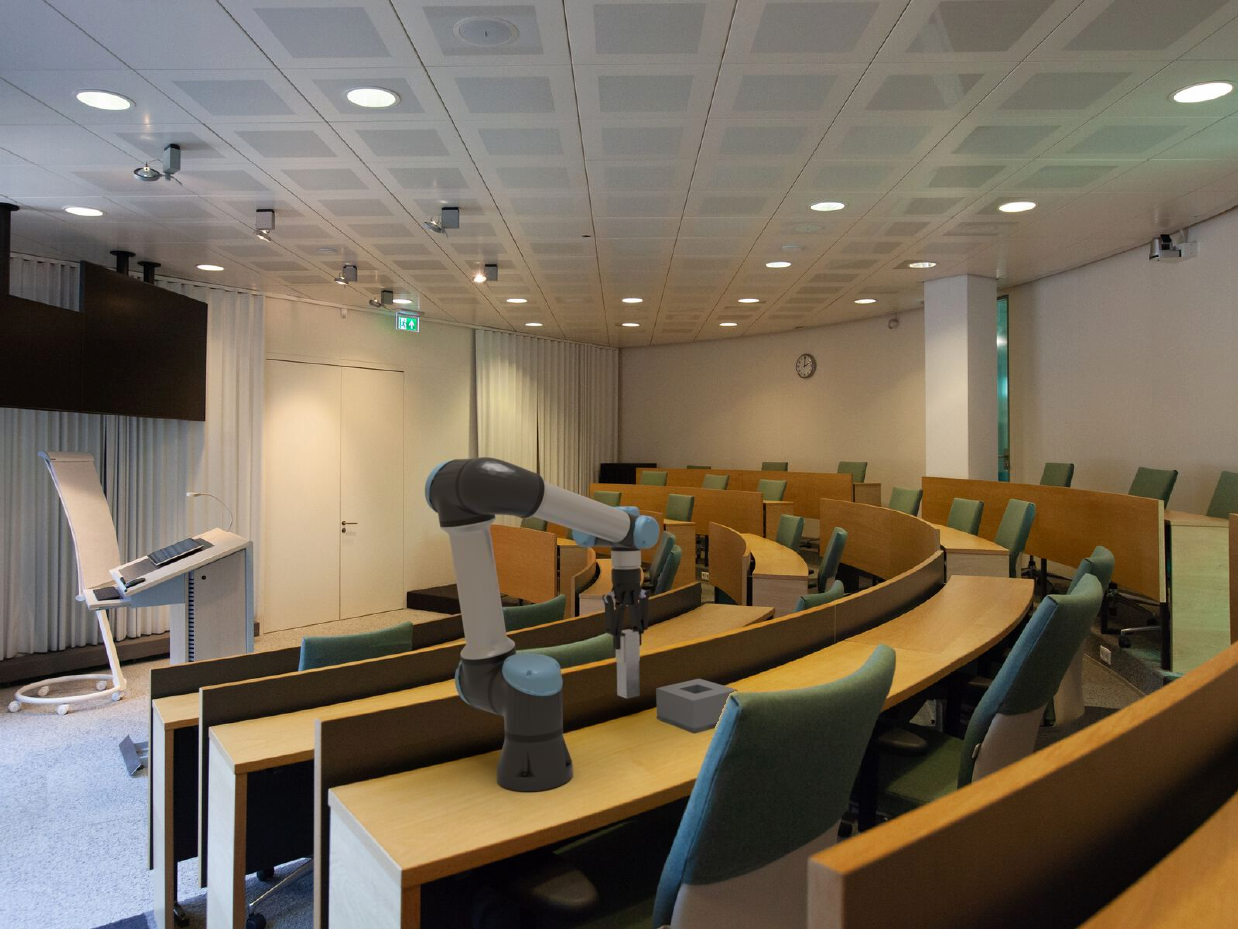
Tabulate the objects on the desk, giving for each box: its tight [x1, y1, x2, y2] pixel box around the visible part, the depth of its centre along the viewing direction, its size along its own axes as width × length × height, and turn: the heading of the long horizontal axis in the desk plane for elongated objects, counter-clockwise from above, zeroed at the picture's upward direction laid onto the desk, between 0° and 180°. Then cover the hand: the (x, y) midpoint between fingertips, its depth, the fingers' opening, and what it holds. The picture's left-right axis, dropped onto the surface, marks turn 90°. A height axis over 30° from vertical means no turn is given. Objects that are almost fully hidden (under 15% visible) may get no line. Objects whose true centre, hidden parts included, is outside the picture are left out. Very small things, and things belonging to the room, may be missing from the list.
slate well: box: [655, 678, 738, 734], centre depth 181 cm, size 14×14×8 cm
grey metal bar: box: [616, 628, 640, 699], centre depth 187 cm, size 4×4×16 cm
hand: (627, 660), depth 187 cm, fingers closed on grey metal bar, 4 cm apart
